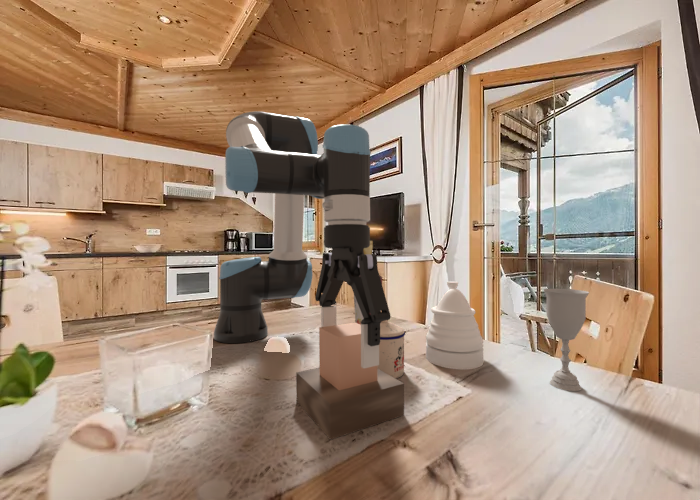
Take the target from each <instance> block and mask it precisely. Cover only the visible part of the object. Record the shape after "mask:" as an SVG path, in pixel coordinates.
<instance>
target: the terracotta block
mask: <svg viewBox="0 0 700 500" xmlns="http://www.w3.org/2000/svg"><path fill="white" fill-rule="evenodd" d="M318 329H319V330H318V334H319V337H318V339H319V340H318V341H319V344H318V345H319V347H318V348H319V357H318V359H319V361H318V362H319V368H320V375H321V376H322V377H323V378H324V379H325V380H327V381H328V382H329V383H330V384H332V385H333V386H334V387H335V388H337V389H338V390H343V389H347V388H351V387H355V386H359V385H363V384H366V383H370V382H374V381H377V366H373V367H368V368H362V367H361V325H360V324H357V323H355V322H349V323H342V324H336V325H334V326H327V327H321V326H320V327H319V328H318Z"/></svg>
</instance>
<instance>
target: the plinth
mask: <svg viewBox="0 0 700 500" xmlns="http://www.w3.org/2000/svg"><path fill="white" fill-rule="evenodd" d="M295 377H296V379H295V380H296V385H295V386H296V391H295V392H296V395H295V396H296V397H295V398H296V399H295V400H296V403H298V405H299V406H300V407H301V408H302V410H304V412H305V413H306V414H307V415H308V416H309V417H310V418H311V420H312V421H313V422H314V423H315V424H316V425H317V426H318V428H319V429H320V430H321V431H322V432H323V433H324V434H325V436H327V438H328V439H329V440H334V439H336V438H340V437H343V436H345V435H348V434H352V433H354V432H357V431H361V430H363V429H364V430H365V429H367V428H369V427H372V426H375V425H378V424H381V423H384V422H387V421H391V420H394V419H395V418H396V419H397V418H399V417H402V416H405V383H404V382H402V381H400V380H399V379H398V378H396V379H395V378H393V377H392V376H390V375H388V374H386V373H384V372H383V371H381V370H379V369H377V381H374V382H370V383H366V384H363V385H359V386H355V387H351V388H347V389H343V390H338V389H337V388H335V387H334V386H333V385H332V384H330V383H329V382H328V381H327V380H325V379H324V378H323V377H322V376H321V375H320V367H316V368H312V369H305V370H301V371H296V375H295Z"/></svg>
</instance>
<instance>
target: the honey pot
mask: <svg viewBox="0 0 700 500" xmlns="http://www.w3.org/2000/svg"><path fill="white" fill-rule="evenodd" d="M458 284H459V281H446V285H447V287H448V290H447V291H446V292H445V293H444V294H443V295H442V297H441V299H440V300H439V302H438V304H437V305H435V306H432V307H431V308H430V311H431V312H432V313H433V317H432V319H431V320H430V323H429V327H428V331H427V333H426V336H425V340H426V341H425V359H426V360H427V361H428V362H429V363H431V364H433V365H435V366H438V367H440V368H441V367H442V368H445V369H449V370H472V369H477V368H480V367H482V366H483V364H484V348H483V347H484V340H483V337H482V335H481V330H480V328H479V323H478V322H477V321H476V318H475V314H476V310H475V309H474V308H473V307H471V306H470V303H469V301H468V299H467V298H466V296H465V295H464V294H463V292H462V291H460V290H459V289H457V287H458V286H459V285H458Z"/></svg>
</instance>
